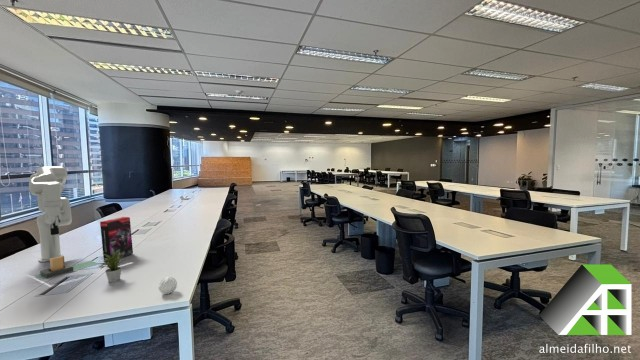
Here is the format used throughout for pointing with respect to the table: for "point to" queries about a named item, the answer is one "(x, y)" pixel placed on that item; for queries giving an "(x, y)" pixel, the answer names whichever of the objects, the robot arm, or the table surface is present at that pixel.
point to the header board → (76, 267)
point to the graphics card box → (116, 237)
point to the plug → (57, 263)
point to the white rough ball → (167, 285)
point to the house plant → (112, 267)
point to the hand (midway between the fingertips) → (54, 234)
